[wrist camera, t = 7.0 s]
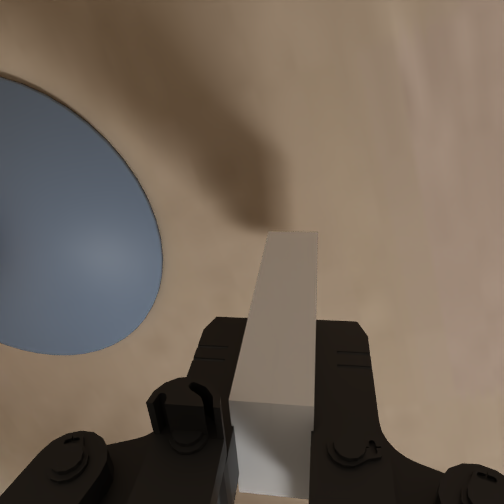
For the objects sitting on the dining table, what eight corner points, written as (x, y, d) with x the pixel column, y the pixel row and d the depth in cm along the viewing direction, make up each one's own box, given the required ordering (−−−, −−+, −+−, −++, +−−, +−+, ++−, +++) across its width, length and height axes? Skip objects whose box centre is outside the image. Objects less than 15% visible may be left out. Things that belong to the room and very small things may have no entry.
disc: (129, 63, 13) (126, 64, 13) (182, 359, 19) (181, 362, 19) (-202, 78, 15) (-209, 79, 15) (-59, 345, 21) (-62, 347, 21)
